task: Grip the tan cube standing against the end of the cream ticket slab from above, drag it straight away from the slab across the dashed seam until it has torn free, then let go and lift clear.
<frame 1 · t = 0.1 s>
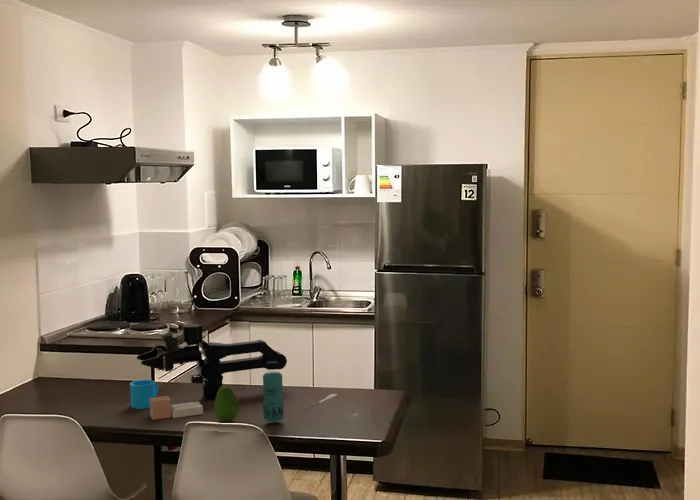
hand: (139, 360, 276), 17 cm above the table, tool horizontal, fingers open, 9 cm apart
ticket slab: (186, 413, 269), on the table
beverage bottle: (274, 423, 255), on the table
tan cube: (160, 407, 265), point 3 cm above the table, slide at 0.0 cm
butter knife: (318, 404, 277), on the table
avocado: (227, 422, 258), on the table
mug: (147, 404, 282), on the table
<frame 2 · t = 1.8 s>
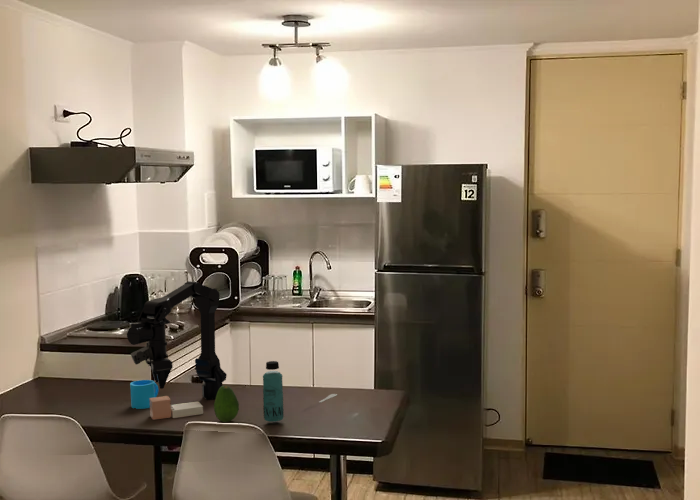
hand: (159, 385, 265), 11 cm above the table, tool pointing down, fingers open, 9 cm apart
nothing on the table moved.
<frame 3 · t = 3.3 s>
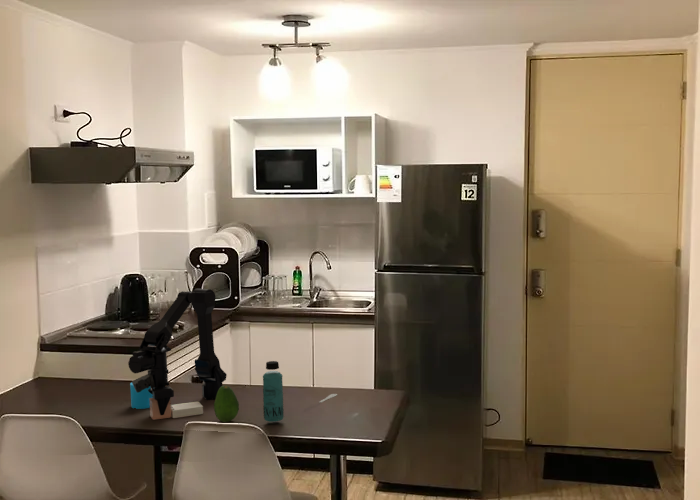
hand: (160, 412, 266), 1 cm above the table, tool pointing down, fingers closed on tan cube, 5 cm apart
tan cube: (160, 407, 265), point 3 cm above the table, slide at 0.0 cm, touching gripper
everything else where it was.
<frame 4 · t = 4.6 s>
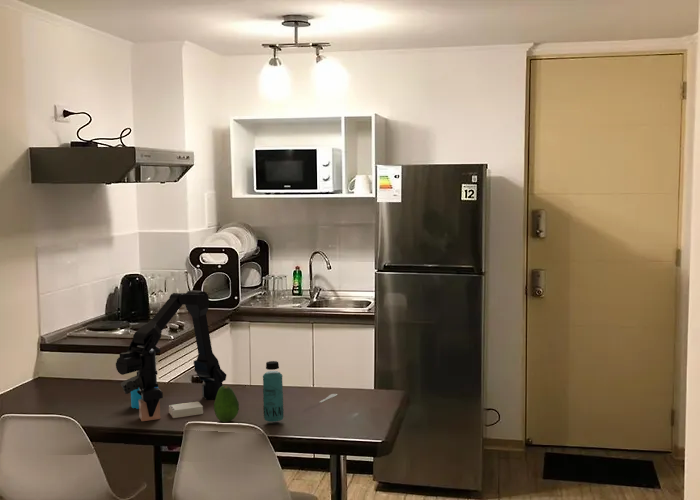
hand: (149, 414, 264), 1 cm above the table, tool pointing down, fingers closed on tan cube, 5 cm apart
tan cube: (149, 409, 264), point 3 cm above the table, slide at 3.6 cm, touching gripper
everything else where it was.
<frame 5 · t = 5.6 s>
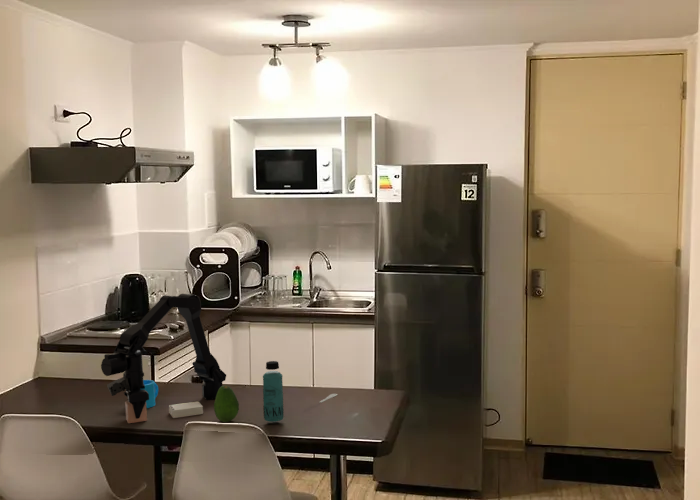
hand: (136, 416, 263), 1 cm above the table, tool pointing down, fingers closed on tan cube, 5 cm apart
tan cube: (136, 410, 262), point 3 cm above the table, slide at 7.9 cm, touching gripper
everything else where it was.
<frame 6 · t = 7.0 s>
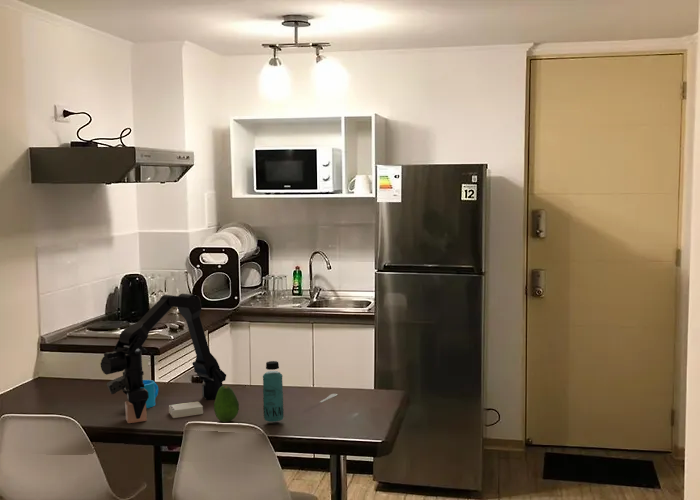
hand: (135, 414, 262), 2 cm above the table, tool pointing down, fingers open, 9 cm apart
tan cube: (135, 410, 262), point 3 cm above the table, slide at 7.9 cm
everything else where it was.
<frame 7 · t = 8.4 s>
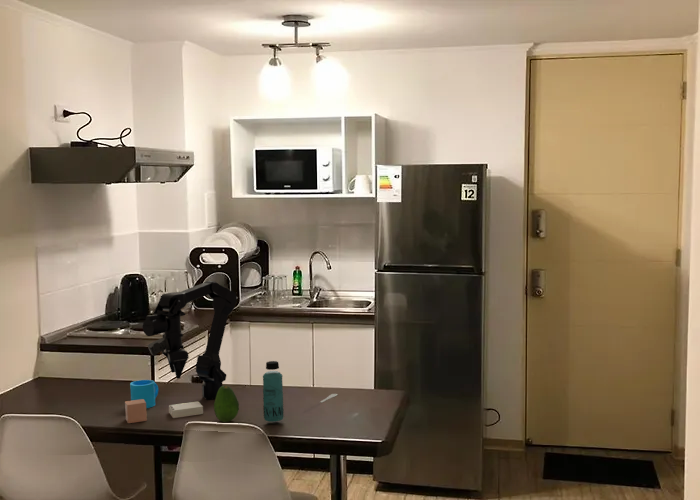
hand: (175, 375, 274), 12 cm above the table, tool pointing down, fingers open, 9 cm apart
nothing on the table moved.
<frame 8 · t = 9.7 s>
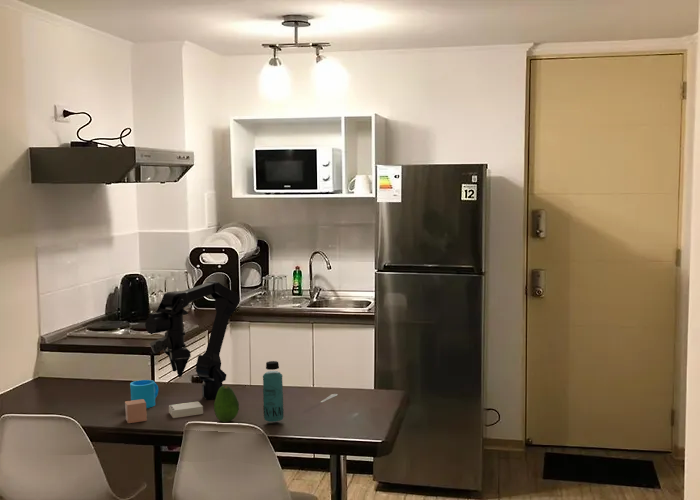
hand: (177, 374, 274), 12 cm above the table, tool pointing down, fingers open, 9 cm apart
nothing on the table moved.
at the end: tan cube slide at 7.9 cm; the gripper is holding nothing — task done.
